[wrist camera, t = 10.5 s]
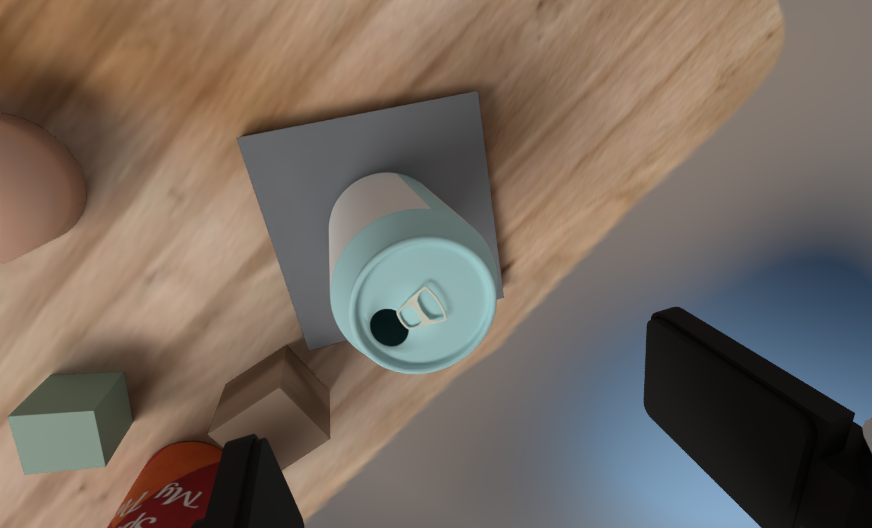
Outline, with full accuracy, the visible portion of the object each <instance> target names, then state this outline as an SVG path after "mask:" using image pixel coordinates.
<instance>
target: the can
mask: <svg viewBox="0 0 872 528" xmlns="http://www.w3.org/2000/svg"><path fill="white" fill-rule="evenodd" d="M329 270H330V302H331V308H332V312H333V316H334V318H335V321H336V323H337V325H338V327H339V329H340V331H341V332H342V333H343V335H344V336H345V337H346V339H347V340H348V341H349V342H350V343H351V344H352V345H353V346H354V347H355V348H356V349H358V350H359V351H360V352H362V353H363V354H365V355H366V356H368V357H369V358H370V359H371V360H373V361H374V362H375V363H377V364H379V365H380V366H382V367H384V368H386V369H389V370H392V371H395V372H399V373H406V374H424V373H430V372H435V371H439V370H442V369H444V368H447V367H449V366H451V365H454V364H455V363H457V362H459V361H460V360H462V359H463V358H465V357H466V356H467V355H469V354H470V353H471V352H472V351H473V350H474V349H475V348H476V347H477V346H478V345H479V344H480V343H481V341H482V340H483V339H484V337H485V336H486V334H487V332H488V330H489V328H490V326H491V324H492V322H493V319H494V315H495V311H496V305H497V270H496V266H495V261H494V258H493V255H492V253H491V251H490V248H489V246H488V245H487V243H486V241H485V240H484V239H483V237H482V236H481V235H480V234H479V233H478V232H477V231H476V230H475V229H474V228H473V227H472V226H471V225H470V224H468V223H467V222H466V221H465V220H464V219H463V218H461V217H460V216H459V215H458V214H457V213H456V212H454V211H453V210H452V209H451V208H450V207H448V206H447V205H446V204H445V203H444V202H443V201H441V200H440V199H439V198H438V197H437V196H436V195H434V194H433V193H432V192H431V191H430V190H428V189H427V188H426V187H425V186H424V185H423V184H421V183H420V182H418V181H417V180H415V179H413V178H411V177H409V176H406V175H403V174H398V173H377V174H372V175H369V176H366V177H364V178H361V179H359V180H358V181H356V182H354V183H353V184H351V185H350V186H349V187H348V188H347V189H346V190H345V191H344V192H343V193H342V194H341V195H340V197H339V198H338V200H337V201H336V203H335V205H334V207H333V210H332V212H331V216H330V221H329Z"/></svg>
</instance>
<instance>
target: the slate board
mask: <svg viewBox="0 0 872 528" xmlns="http://www.w3.org/2000/svg"><path fill="white" fill-rule="evenodd" d="M236 139H237V141H238V144H239V147H240V150H241V153H242V156H243V159H244V162H245V165H246V168H247V171H248V174H249V177H250V180H251V183H252V185H253V188H254V191H255V194H256V197H257V200H258V203H259V206H260V209H261V212H262V215H263V218H264V221H265V224H266V227H267V229H268V232H269V235H270V238H271V241H272V244H273V247H274V250H275V253H276V256H277V259H278V262H279V265H280V268H281V271H282V273H283V276H284V279H285V282H286V285H287V288H288V291H289V294H290V297H291V300H292V303H293V306H294V309H295V312H296V314H297V317H298V320H299V323H300V326H301V329H302V332H303V335H304V338H305V341H306V344H307V347H308V350H309V351H310V350H314V349H317V348H321V347H325V346H328V345H332V344H336V343H339V342H343V341H347V339H346V337H345V336H344V335H343V333H342V332H341V331H340V329H339V327H338V325H337V323H336V321H335V318H334V316H333V312H332V308H331V302H330V270H329V221H330V216H331V212H332V210H333V207H334V205H335V203H336V201H337V200H338V198H339V197H340V195H341V194H342V193H343V192H344V191H345V190H346V189H347V188H348V187H349V186H350V185H351V184H353V183H354V182H356V181H358V180H359V179H361V178H364V177H366V176H369V175H372V174H377V173H398V174H403V175H406V176H409V177H411V178H413V179H415V180H417V181H418V182H420V183H421V184H423V185H424V186H425V187H426V188H427V189H428V190H430V191H431V192H432V193H433V194H434V195H436V196H437V197H438V198H439V199H440V200H441V201H443V202H444V203H445V204H446V205H447V206H448V207H450V208H451V209H452V210H453V211H454V212H456V213H457V214H458V215H459V216H460V217H461V218H463V219H464V220H465V221H466V222H467V223H468V224H470V225H471V226H472V227H473V228H474V229H475V230H476V231H477V232H478V233H479V234H480V235H481V236H482V237H483V239H484V240H485V241H486V243H487V245H488V246H489V248H490V251H491V253H492V255H493V258H494V261H495V266H496V270H497V299H501V298H504V295H503V287H502V279H501V271H500V263H499V255H498V247H497V239H496V231H495V223H494V215H493V207H492V199H491V191H490V183H489V175H488V167H487V159H486V151H485V144H484V136H483V128H482V120H481V112H480V104H479V96H478V91H474V92H467V93H462V94H457V95H452V96H447V97H442V98H436V99H431V100H426V101H421V102H416V103H411V104H405V105H400V106H395V107H390V108H385V109H380V110H374V111H369V112H364V113H359V114H354V115H349V116H344V117H338V118H333V119H328V120H323V121H318V122H313V123H307V124H302V125H297V126H292V127H287V128H282V129H276V130H271V131H266V132H261V133H256V134H251V135H245V136H240V137H238V138H236Z"/></svg>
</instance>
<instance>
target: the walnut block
mask: <svg viewBox="0 0 872 528" xmlns="http://www.w3.org/2000/svg"><path fill="white" fill-rule="evenodd" d="M251 434H256V435H257V437H258V438H259V439H261V438H266V439H267V440H268V442H269V444H270V446H271V448H272V451H273V453H274V455H275V457H276V460H277V462H278V464H279V466H280V469H281V471H282V470H283V469H285V468H286V467H288V466H289V465H291V464H292V463H294V462H295V461H297V460H298V459H300V458H301V457H303V456H304V455H306V454H308V453H309V452H311V451H312V450H314V449H315V448H317V447H318V446H320V445H321V444H323V443H324V442H326V441H327V440H329V439H330V391H329V390H328V389H327V388H326V387H325V386H324V385H323V384H322V383H321V382H320V380H319V379H318V378H317V377H316V376H315V375H314V374H313V373H312V372H311V371H310V370H309V369H308V368H307V366H306V365H305V364H304V363H303V362H302V361H301V360H300V359H299V358H298V357H297V356H296V355H295V353H294V352H293V351H292V350H291V349H290V348H289V347H288V346H287V345H285V346H284V347H282V348H281V349H279V350H278V351H276V352H275V353H273V354H271V355H270V356H268V357H267V358H265V359H264V360H262V361H261V362H259V363H258V364H256V365H255V366H253V367H251V368H250V369H248V370H247V371H245V372H244V373H242V374H241V375H239V376H238V377H236V378H235V379H233V380H232V381H230V382H228V383H227V384H225V387H224V390H223V393H222V396H221V398H220V401H219V404H218V407H217V410H216V412H215V415H214V418H213V421H212V423H211V426H210V429H209V432H208V435H209V436H210V437H211V438H212V439H213V440H215V441H216V442H217V443H218V444H219V445H221V446H222V447H223V448H224V445H225V443H226V442H227V441H231V440H234V439H237V438H241V437H244V436H247V435H251Z"/></svg>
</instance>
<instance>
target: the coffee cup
mask: <svg viewBox="0 0 872 528" xmlns="http://www.w3.org/2000/svg"><path fill="white" fill-rule="evenodd" d="M221 455H222V450H221V449H219V448H218V447H216V446H213V445H211V444H208V443H203V442H196V441H188V442H180V443H175V444H172V445H169V446H167V447H165V448H163V449H161V450H160V451H158V452H157V453H156V454H154V455H153V456H152V457H151V459H150V460H149V461H148V462H147V464H146V465H145V467H144V468H143V470H142V471H141V473H140V474H139V476H138V478H137V479H136V481H135V482H134V484H133V486H132V487H131V489H130V491H129V492H128V494H127V496H126V497H125V499H124V501H123V502H122V504H121V506H120V507H119V509H118V511H117V512H116V514H115V516H114V517H113V519H112V521H111V522H110V524H109V526H108V527H107V528H191V526H192V525H193V523H194V522H195V521H196V520H199V519H201V518H204V517H205V515H206V511H207V507H208V503H209V500H210V496H211V492H212V488H213V485H214V481H215V477H216V474H217V470H218V466H219V462H220V459H221Z"/></svg>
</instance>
